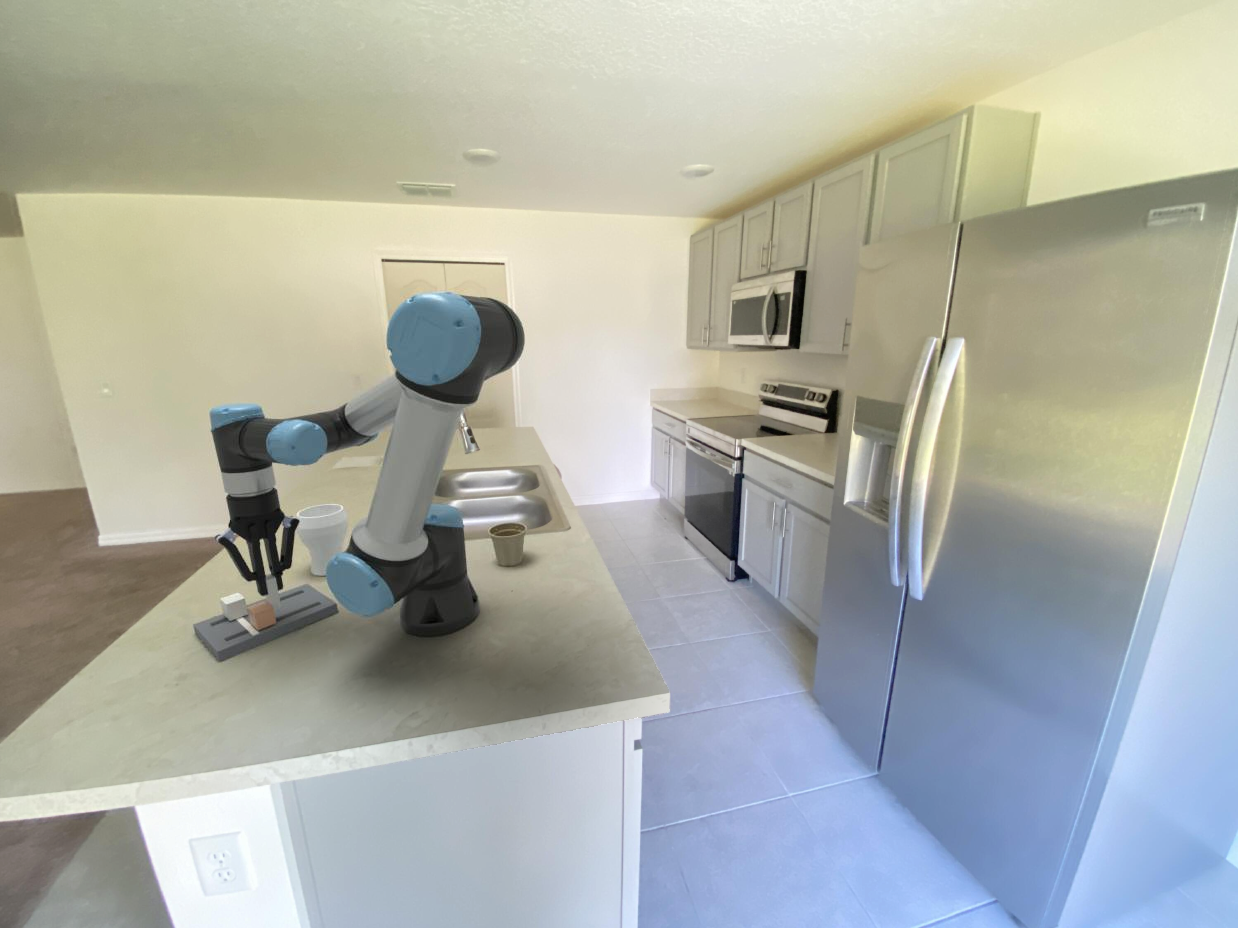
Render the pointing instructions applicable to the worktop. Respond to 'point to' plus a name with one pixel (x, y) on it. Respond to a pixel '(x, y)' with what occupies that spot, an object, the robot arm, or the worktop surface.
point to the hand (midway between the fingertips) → (274, 607)
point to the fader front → (261, 615)
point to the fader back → (234, 606)
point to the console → (242, 635)
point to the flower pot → (508, 542)
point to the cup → (322, 533)
